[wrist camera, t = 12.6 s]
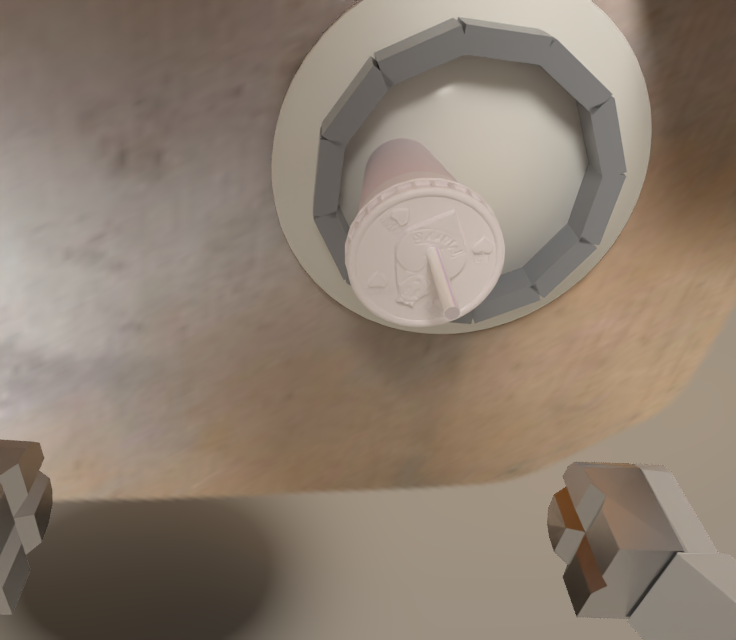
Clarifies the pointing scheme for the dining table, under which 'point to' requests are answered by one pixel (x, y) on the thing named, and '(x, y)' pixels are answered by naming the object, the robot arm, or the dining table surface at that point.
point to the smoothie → (420, 240)
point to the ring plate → (470, 135)
